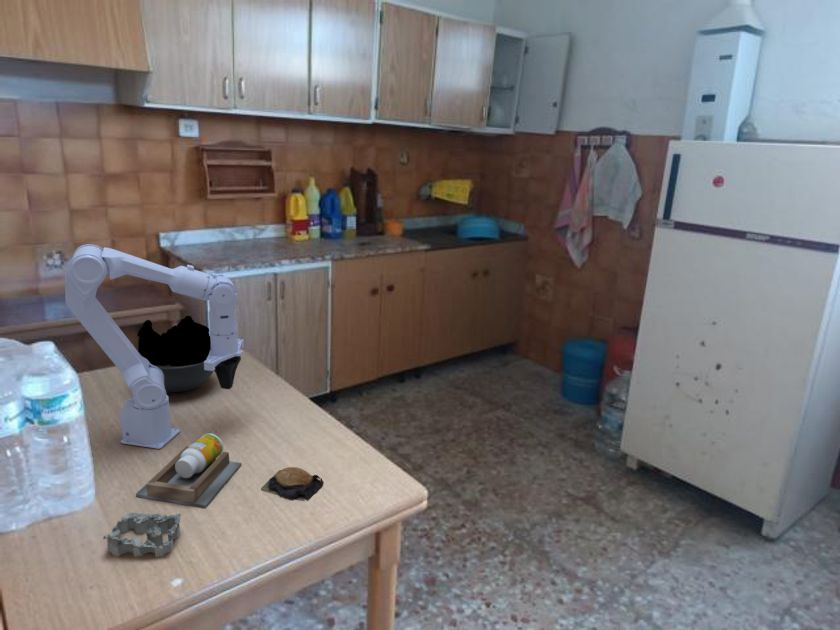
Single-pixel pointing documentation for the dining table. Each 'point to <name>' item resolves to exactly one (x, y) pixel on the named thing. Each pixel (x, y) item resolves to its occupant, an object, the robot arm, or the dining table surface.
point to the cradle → (190, 483)
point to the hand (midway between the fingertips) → (226, 387)
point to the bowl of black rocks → (177, 353)
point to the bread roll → (293, 484)
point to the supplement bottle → (199, 455)
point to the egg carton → (144, 524)
